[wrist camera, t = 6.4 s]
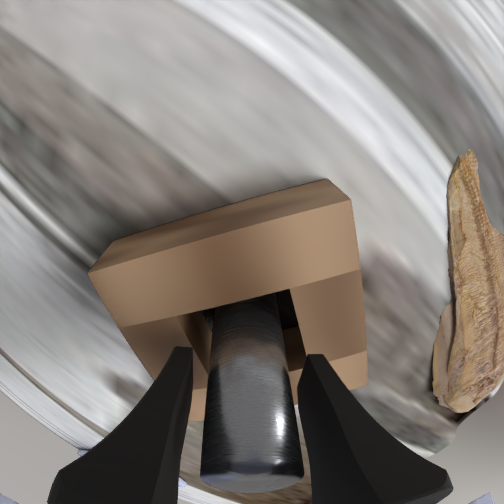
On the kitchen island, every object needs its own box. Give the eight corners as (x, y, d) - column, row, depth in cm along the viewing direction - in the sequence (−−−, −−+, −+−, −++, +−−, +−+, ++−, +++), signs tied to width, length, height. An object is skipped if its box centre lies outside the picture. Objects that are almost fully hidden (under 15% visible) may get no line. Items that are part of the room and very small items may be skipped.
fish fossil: (380, 187, 13) (391, 193, 12) (502, 111, 12) (516, 112, 11) (444, 420, 23) (449, 428, 22) (517, 362, 22) (523, 368, 21)
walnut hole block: (191, 383, 18) (186, 421, 15) (113, 241, 13) (87, 273, 11) (352, 346, 17) (367, 384, 14) (327, 178, 13) (351, 199, 10)
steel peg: (227, 331, 16) (221, 495, 8) (207, 285, 15) (182, 463, 7) (282, 318, 16) (310, 484, 8) (268, 270, 14) (294, 451, 6)
